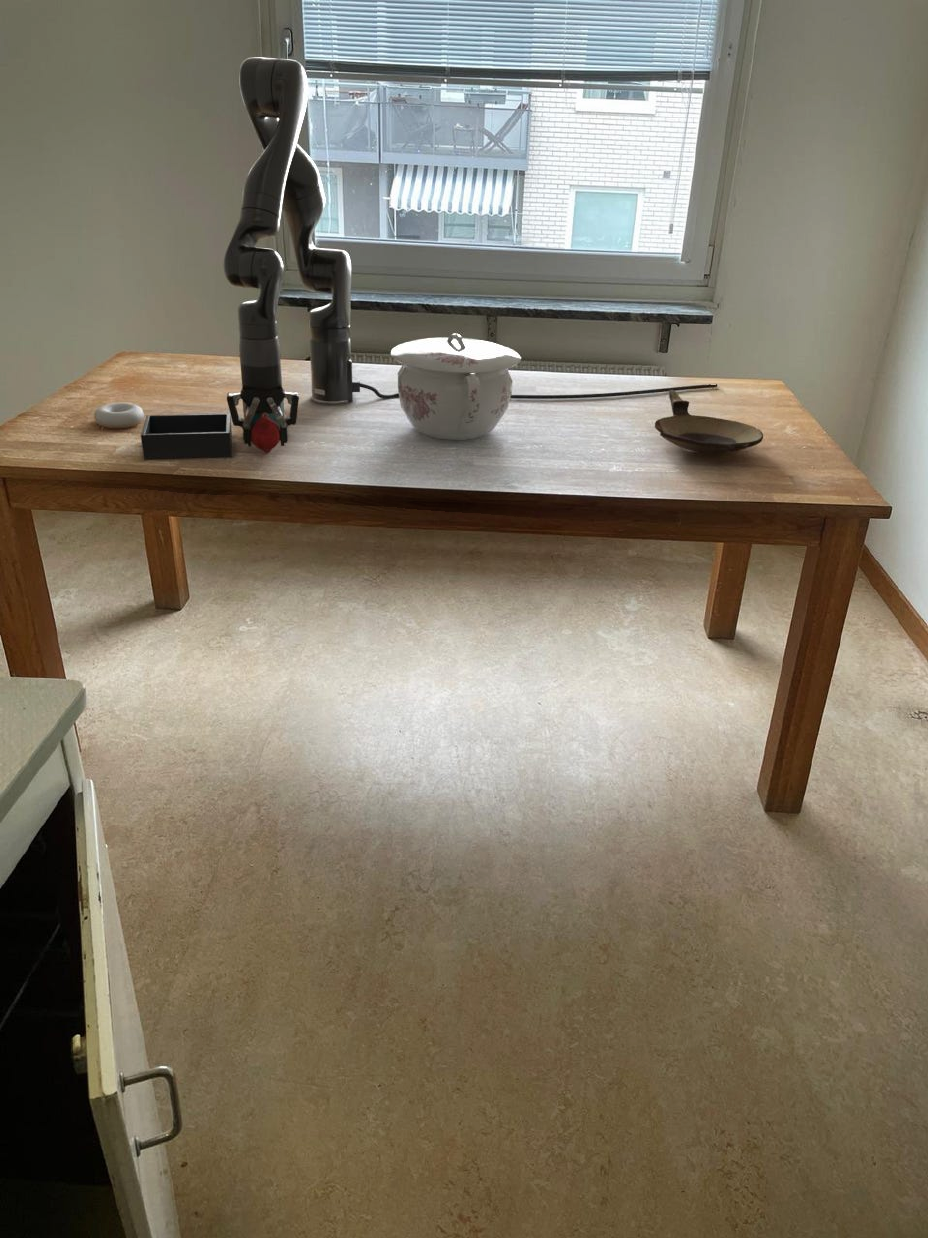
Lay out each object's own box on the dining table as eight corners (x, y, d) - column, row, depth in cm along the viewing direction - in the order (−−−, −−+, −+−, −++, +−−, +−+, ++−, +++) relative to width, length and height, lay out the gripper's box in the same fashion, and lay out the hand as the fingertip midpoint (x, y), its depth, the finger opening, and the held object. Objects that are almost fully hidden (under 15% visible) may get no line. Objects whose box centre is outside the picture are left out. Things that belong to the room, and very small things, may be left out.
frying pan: (657, 465, 182) (663, 428, 178) (646, 420, 208) (651, 387, 204) (768, 473, 181) (777, 437, 177) (743, 427, 206) (750, 394, 202)
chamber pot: (427, 404, 211) (429, 313, 201) (534, 425, 201) (542, 331, 191) (364, 436, 189) (363, 337, 179) (481, 462, 179) (488, 357, 169)
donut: (125, 433, 185) (154, 419, 193) (122, 417, 183) (152, 403, 191) (85, 426, 187) (115, 412, 195) (82, 410, 186) (113, 397, 194)
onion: (278, 458, 176) (275, 418, 172) (249, 456, 176) (245, 417, 172) (283, 448, 181) (281, 409, 177) (255, 446, 181) (252, 408, 177)
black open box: (232, 436, 186) (230, 413, 183) (231, 457, 175) (229, 432, 173) (149, 438, 182) (146, 414, 180) (144, 460, 172) (140, 435, 169)
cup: (284, 429, 191) (282, 385, 186) (286, 442, 184) (283, 396, 180) (245, 430, 190) (241, 385, 185) (245, 443, 183) (241, 397, 178)
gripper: (220, 365, 165) (229, 452, 173) (299, 364, 168) (304, 450, 176) (221, 355, 171) (229, 440, 179) (297, 354, 174) (301, 437, 182)
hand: (266, 444), depth 178 cm, fingers closed on onion, 5 cm apart
